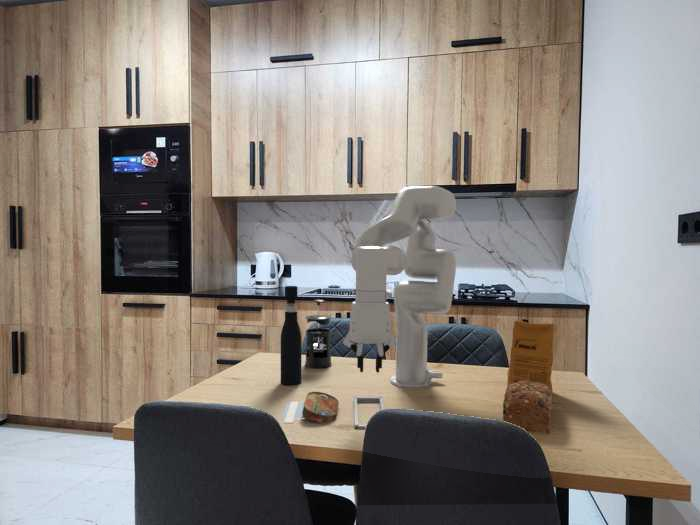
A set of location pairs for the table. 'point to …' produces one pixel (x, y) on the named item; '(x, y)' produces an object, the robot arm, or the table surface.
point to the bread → (528, 406)
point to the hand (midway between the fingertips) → (369, 370)
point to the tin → (320, 407)
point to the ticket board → (293, 411)
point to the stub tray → (365, 399)
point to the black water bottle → (291, 342)
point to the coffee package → (531, 353)
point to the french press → (318, 357)
